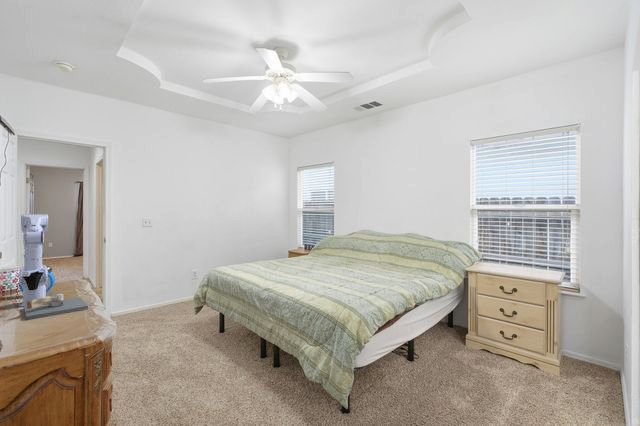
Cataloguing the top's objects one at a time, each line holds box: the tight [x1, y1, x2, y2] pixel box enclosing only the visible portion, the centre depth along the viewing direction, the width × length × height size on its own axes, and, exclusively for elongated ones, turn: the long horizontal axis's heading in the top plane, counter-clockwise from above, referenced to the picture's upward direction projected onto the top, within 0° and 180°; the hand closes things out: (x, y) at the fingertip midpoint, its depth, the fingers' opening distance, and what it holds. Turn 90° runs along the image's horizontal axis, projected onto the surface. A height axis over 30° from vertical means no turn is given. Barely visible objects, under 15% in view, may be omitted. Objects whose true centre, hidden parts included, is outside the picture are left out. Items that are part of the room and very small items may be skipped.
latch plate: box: [23, 296, 89, 321], centre depth 136 cm, size 20×20×2 cm
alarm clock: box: [18, 265, 56, 294], centre depth 157 cm, size 13×6×15 cm, turn 126°
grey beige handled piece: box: [27, 293, 64, 309], centre depth 132 cm, size 13×5×4 cm, turn 161°
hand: (33, 289), depth 132 cm, fingers closed
